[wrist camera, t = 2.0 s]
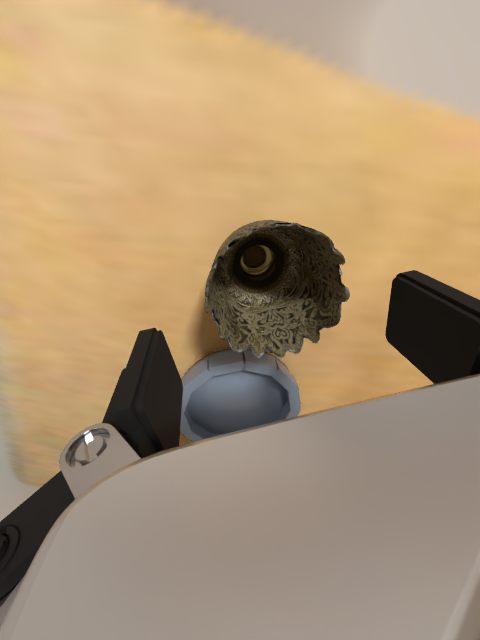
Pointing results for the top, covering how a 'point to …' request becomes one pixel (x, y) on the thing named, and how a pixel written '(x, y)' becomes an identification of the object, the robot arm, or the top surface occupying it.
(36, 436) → the top surface
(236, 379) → the dish
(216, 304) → the cup
